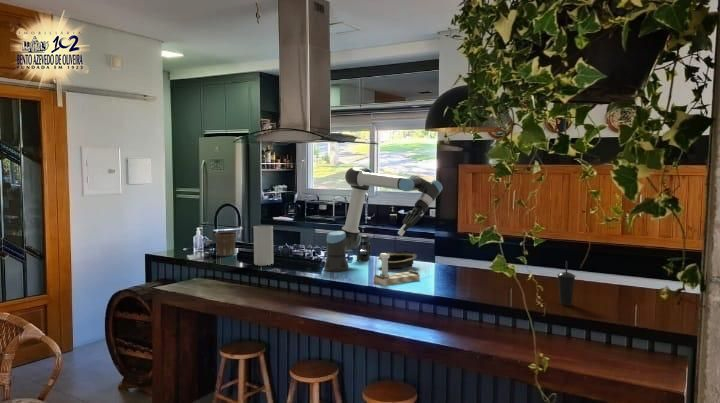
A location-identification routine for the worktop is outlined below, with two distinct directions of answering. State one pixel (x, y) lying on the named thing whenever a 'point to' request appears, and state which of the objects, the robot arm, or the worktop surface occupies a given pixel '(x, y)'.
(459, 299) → the worktop surface
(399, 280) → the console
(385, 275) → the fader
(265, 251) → the cylinder vase
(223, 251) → the plant pot
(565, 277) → the drinking cup
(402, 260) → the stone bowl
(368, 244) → the french press
